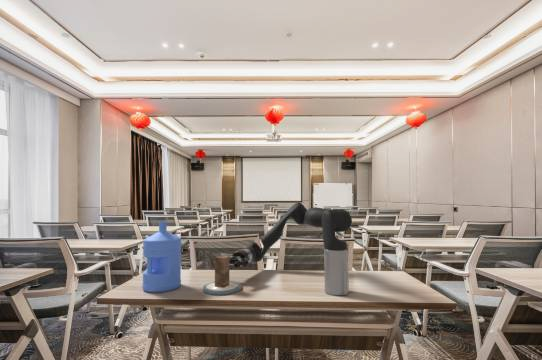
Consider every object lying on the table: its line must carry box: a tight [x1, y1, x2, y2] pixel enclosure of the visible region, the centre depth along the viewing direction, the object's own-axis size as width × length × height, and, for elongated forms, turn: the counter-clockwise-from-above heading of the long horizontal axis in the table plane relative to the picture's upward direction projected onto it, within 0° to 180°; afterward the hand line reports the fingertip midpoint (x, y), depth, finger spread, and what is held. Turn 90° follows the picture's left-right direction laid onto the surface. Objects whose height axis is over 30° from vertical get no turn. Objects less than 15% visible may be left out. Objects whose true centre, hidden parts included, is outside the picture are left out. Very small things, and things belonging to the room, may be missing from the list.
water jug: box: [141, 221, 182, 293], centre depth 129 cm, size 16×16×28 cm
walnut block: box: [214, 255, 230, 288], centre depth 126 cm, size 4×4×12 cm
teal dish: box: [202, 280, 242, 296], centre depth 126 cm, size 16×16×1 cm
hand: (226, 264), depth 129 cm, fingers open, 8 cm apart
